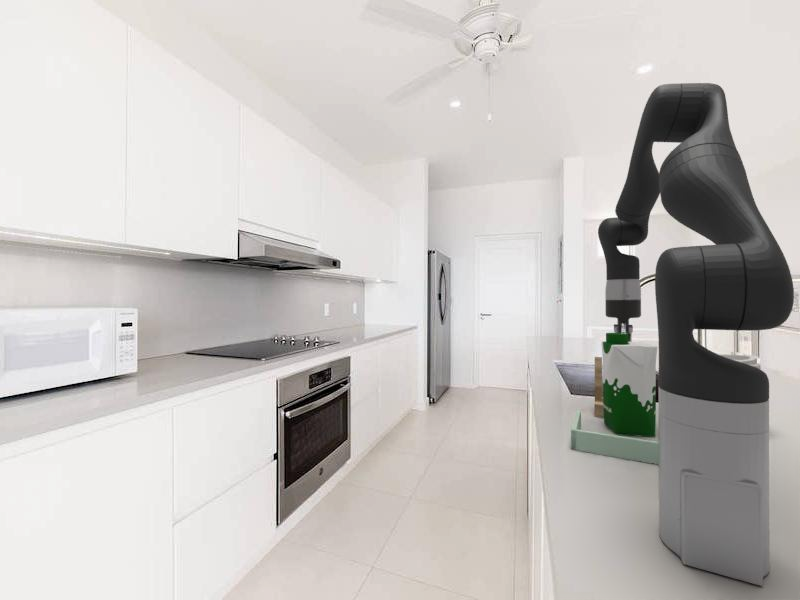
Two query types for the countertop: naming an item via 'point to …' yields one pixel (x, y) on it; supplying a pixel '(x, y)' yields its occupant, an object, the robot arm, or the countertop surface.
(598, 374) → the brown box
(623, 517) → the countertop surface
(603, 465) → the countertop surface
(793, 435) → the countertop surface
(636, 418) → the soya milk
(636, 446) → the tray
